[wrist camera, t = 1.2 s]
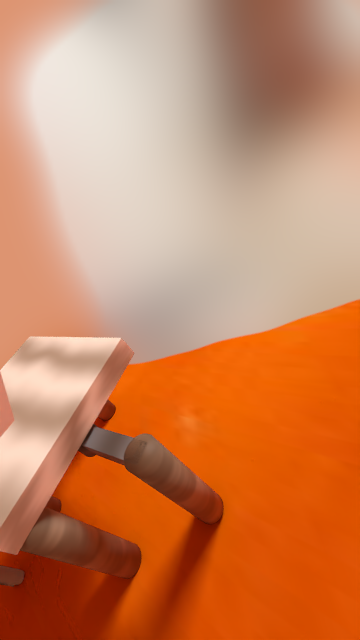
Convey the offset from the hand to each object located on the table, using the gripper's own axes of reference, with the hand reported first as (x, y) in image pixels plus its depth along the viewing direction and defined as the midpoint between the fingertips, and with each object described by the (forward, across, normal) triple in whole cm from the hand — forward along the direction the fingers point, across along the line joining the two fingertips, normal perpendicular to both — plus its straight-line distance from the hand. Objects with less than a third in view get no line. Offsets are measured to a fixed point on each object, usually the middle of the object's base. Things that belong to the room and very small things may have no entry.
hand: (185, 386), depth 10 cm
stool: (+21, -11, -28) cm, 36 cm away
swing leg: (+15, -1, -25) cm, 29 cm away
